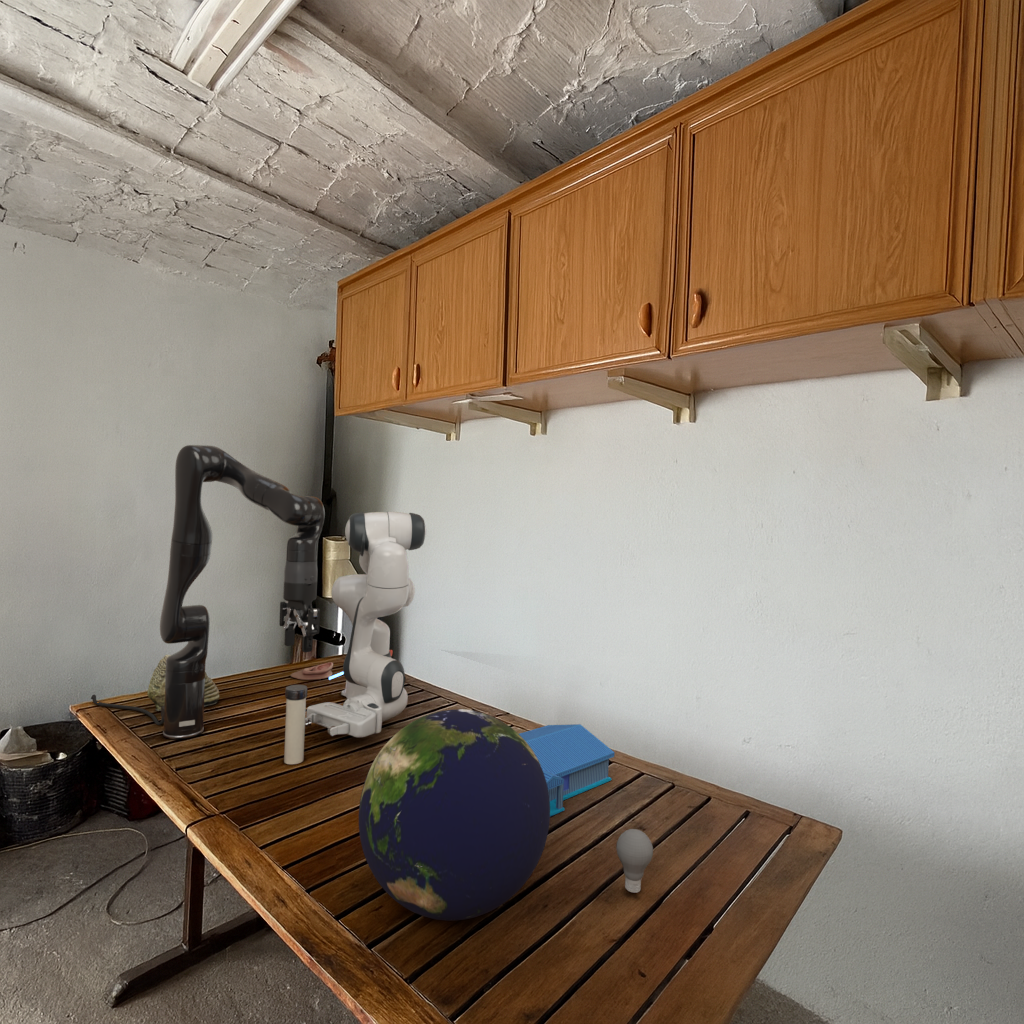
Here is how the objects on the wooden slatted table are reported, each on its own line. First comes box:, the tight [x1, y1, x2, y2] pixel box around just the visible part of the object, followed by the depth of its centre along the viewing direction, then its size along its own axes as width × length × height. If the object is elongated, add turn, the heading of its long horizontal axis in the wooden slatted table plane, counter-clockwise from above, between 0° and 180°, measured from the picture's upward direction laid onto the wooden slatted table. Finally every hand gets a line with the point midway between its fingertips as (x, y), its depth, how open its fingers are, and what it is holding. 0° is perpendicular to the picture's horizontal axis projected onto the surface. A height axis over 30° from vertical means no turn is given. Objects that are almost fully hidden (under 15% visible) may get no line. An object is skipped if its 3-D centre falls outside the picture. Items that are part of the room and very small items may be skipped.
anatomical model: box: [290, 661, 334, 681], centre depth 221 cm, size 13×4×12 cm
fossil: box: [147, 654, 221, 712], centre depth 185 cm, size 9×18×15 cm, turn 132°
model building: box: [518, 723, 615, 817], centre depth 141 cm, size 39×24×10 cm, turn 132°
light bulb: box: [615, 828, 654, 894], centre depth 106 cm, size 6×6×10 cm
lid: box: [284, 684, 308, 700], centre depth 151 cm, size 5×5×2 cm
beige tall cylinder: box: [283, 697, 307, 765], centre depth 151 cm, size 4×4×17 cm
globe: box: [358, 708, 551, 922], centre depth 100 cm, size 30×30×30 cm
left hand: (298, 648), depth 151 cm, fingers open, 7 cm apart
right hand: (316, 727), depth 156 cm, fingers open, 8 cm apart
